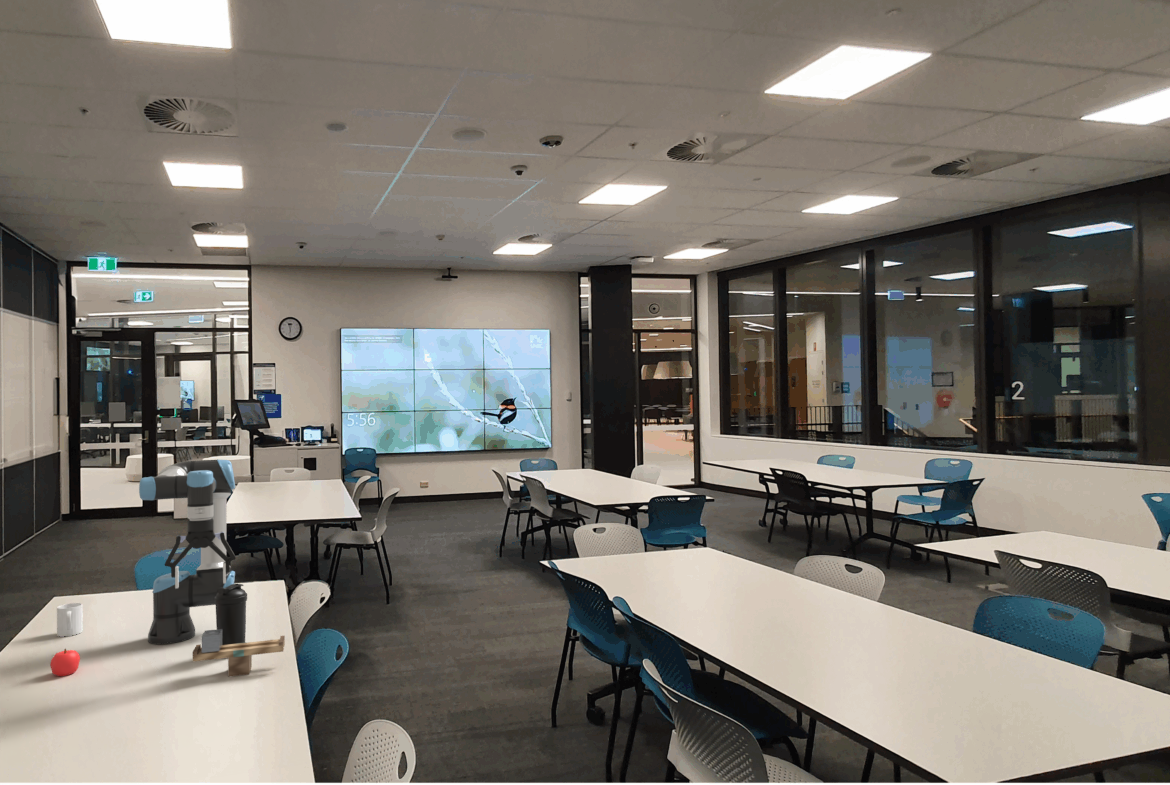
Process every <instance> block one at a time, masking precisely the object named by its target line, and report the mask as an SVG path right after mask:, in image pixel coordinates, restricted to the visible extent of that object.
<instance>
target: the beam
mask: <svg viewBox="0 0 1170 785" xmlns="http://www.w3.org/2000/svg"><path fill="white" fill-rule="evenodd" d="M285 638H286V637H285V635H280V638H278V639H277V638H276V639H267V640H259V641H250V642H247V641H245V643H237V644H229V645H222V647H221V649H220V651H215V652H205V653H202V643H201V644H196V645H195V647H194V649H192V662H193V663H194V662H201V661H202V662H203V661H208V660H209V661H211V660H220V659H228V663H227V665H228V666H227V667H228V668H227V669H228V670H227V671H228V677H229V678H230V677H238V676H247V675H250V673H251V671H252V667H253V666H252V665H253V664H252V663H253V662H252V661H253V659H252V656H255V655H263V654H264V655H265V654H272V653H282V652H284V649H285V648H284V647H285V644H286V643H285V642H286V640H285Z"/></svg>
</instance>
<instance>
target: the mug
mask: <svg viewBox="0 0 1170 785" xmlns="http://www.w3.org/2000/svg"><path fill="white" fill-rule="evenodd" d="M83 612H84V611H83V603H81V602H71V603H65V604H62V605H58V606H57V607H56V635H57V637H59V636H60V638H64V636H69V637H73V636H72V635H74V636H77V635H76V634H78V635H80V634H81V632H82V633H83V624H84V621H83V619H84V618H83ZM79 633H80V634H79Z"/></svg>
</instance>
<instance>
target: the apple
mask: <svg viewBox="0 0 1170 785" xmlns="http://www.w3.org/2000/svg"><path fill="white" fill-rule="evenodd" d="M80 661H81V656H80V654H79V652H77V650H74V649H69V650H67V648H64V650H61V651H58V652H56V653H55V654H54V655H53V657H52V658H51V659H50V669H51V673H52V674H53V675H54V676H58V677H65V676H70V675H73V674H74V673H75V672H76V671H77V670H78V669H79V666H80Z"/></svg>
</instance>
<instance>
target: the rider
mask: <svg viewBox="0 0 1170 785" xmlns="http://www.w3.org/2000/svg"><path fill="white" fill-rule="evenodd" d="M201 647H202V653H205V652H215V651H220V649H221V647H222V629H217V628H216V629H208V630H204V632H203V634H202V636H201Z"/></svg>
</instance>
